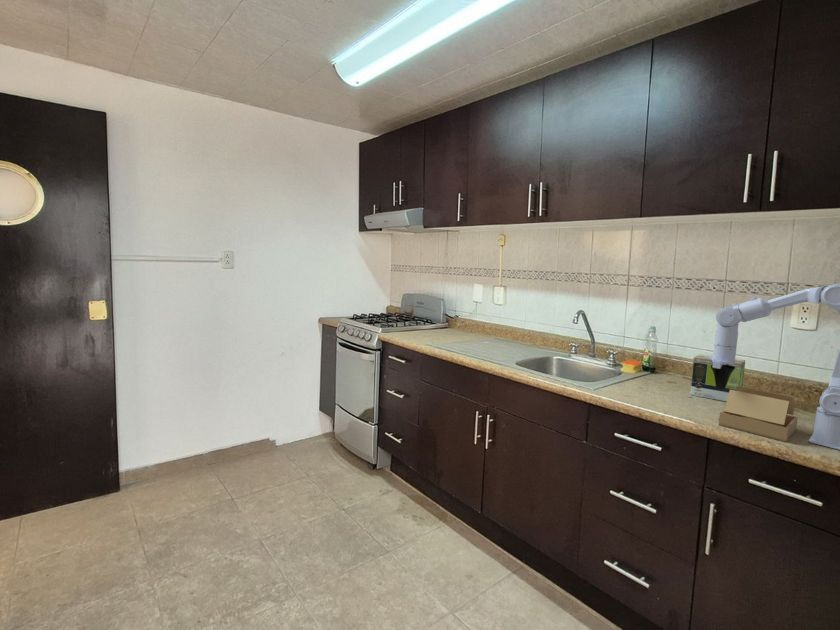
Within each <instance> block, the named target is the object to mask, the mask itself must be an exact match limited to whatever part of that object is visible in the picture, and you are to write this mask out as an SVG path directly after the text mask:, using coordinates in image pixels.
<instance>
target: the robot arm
mask: <svg viewBox="0 0 840 630" xmlns="http://www.w3.org/2000/svg"><path fill="white" fill-rule="evenodd" d="M803 303H809V304H810V303H811V304H818V305H819V304H821V303H823V304H824V305H826V306H827V307H830V308H831V309H833V310H835V311H837V312H838V314H840V283H833V284H830V285H828V286H827V285H823V286H817V287H811V288H809V287H808V288H805V289H802V290H798V291H795V292H791V293H788V294H785V295H782V296H779V297H778V296H777V297H774V298H772V299H766V298H763V297H758V298H757V297H751V298H750V300H748V301H743V302H740V303H732V306H724V307H723V308H721V309H719V310H718V311H717V312H716V314H715V319H716V322H717V323H716V330H715V334H714V335H715V336H714V347H713V354H712V356H713V357H709V358H708V359H709V360H712V361H713V364H712V365H711V369H712V370H713V373H714V377H715V384H716V387H717V388H722V389H724V388H725V387H726V385H727V382H728V379H729V377H730V375H731V373H732V372H733V370H734V369H735V366H730V365H729V364H735V363H736V361H735V359H736V354H737V346H738V338H739V325H740V324H739V323H741V322H743V323H746V322H751V321H754V320H758V319H762V318H765V317H769V316H770V314H771V312H772V311H773V310H774V311H775V310H777V309H782V308H787V307H791V306H795V305H798V304H803ZM828 383H829V384H828V385H827V387H825V389H824V390H822V392H821V396H820V397H819V406H817V407H816V412H815V419H814V424H813V426H814V427H813V432H812V435H811V436H810V437H809V440H808V443H812V444H815V445H820V446H824V447H826V448H827V447H828V448H830V449H831V448H832V449H835V450H839V451H840V347H839V349H838V351H837V356H836V359H835V363H834V366H833V369H832V372H831V376H830V380H829V382H828Z"/></svg>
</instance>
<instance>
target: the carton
mask: <svg viewBox="0 0 840 630" xmlns="http://www.w3.org/2000/svg"><path fill="white" fill-rule="evenodd" d="M724 410H725V408H724V409H723V410H721V411H720V412H719V416H718V417H719V418H718V426H720V427H724V428H728V429H732V430H736V431H739V432H744V433H747V434H752V435H755V436H759V437H764V438H767V439H772V440H775V441H780V442H783V443H787V442H788V441H789V439H791V437H792V436H793V435H794V433H795V432H796V431H797V426H798V425H797V424H798V419H799V418H798V417H797V416H794V415H791V414H786V418H785V423H784V425H781V424H776V423H772V422H768V421H763V420H759V419H755V418H751V417H746V416H742V415H738V414H733V413H729V412H725V411H724Z"/></svg>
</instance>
